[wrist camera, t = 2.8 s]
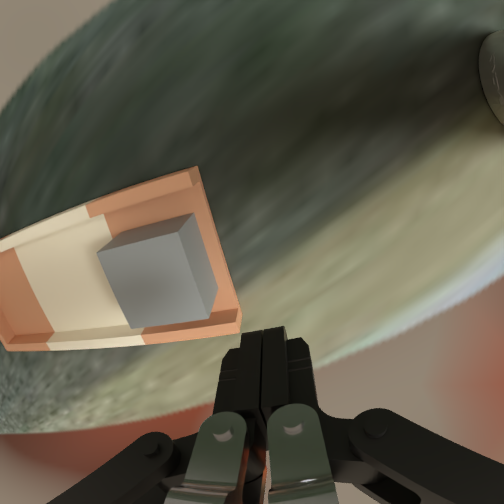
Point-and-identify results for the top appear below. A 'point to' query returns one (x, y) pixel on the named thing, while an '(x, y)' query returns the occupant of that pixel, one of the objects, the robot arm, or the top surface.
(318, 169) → the top surface
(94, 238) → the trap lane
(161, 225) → the slate block
